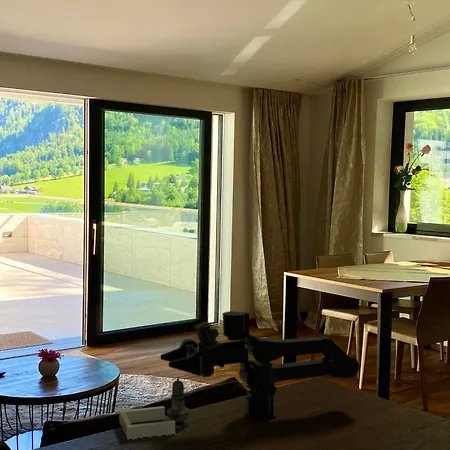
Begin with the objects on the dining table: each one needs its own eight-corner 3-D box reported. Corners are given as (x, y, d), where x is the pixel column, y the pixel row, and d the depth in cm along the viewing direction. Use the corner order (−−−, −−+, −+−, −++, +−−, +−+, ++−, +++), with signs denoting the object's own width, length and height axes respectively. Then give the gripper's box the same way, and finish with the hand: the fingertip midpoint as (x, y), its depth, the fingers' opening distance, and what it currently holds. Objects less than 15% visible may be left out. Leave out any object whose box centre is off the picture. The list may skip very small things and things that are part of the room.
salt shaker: (186, 429, 161) (186, 381, 161) (163, 428, 162) (163, 380, 162) (192, 421, 167) (192, 374, 166) (170, 420, 168) (169, 373, 168)
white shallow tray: (163, 417, 170) (163, 406, 170) (175, 434, 158) (175, 422, 158) (119, 422, 166) (119, 410, 166) (127, 440, 155) (127, 427, 154)
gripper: (212, 317, 176) (155, 322, 172) (234, 327, 159) (171, 334, 154) (214, 358, 177) (157, 365, 172) (236, 373, 159) (173, 381, 154)
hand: (164, 360), depth 163 cm, fingers open, 9 cm apart
